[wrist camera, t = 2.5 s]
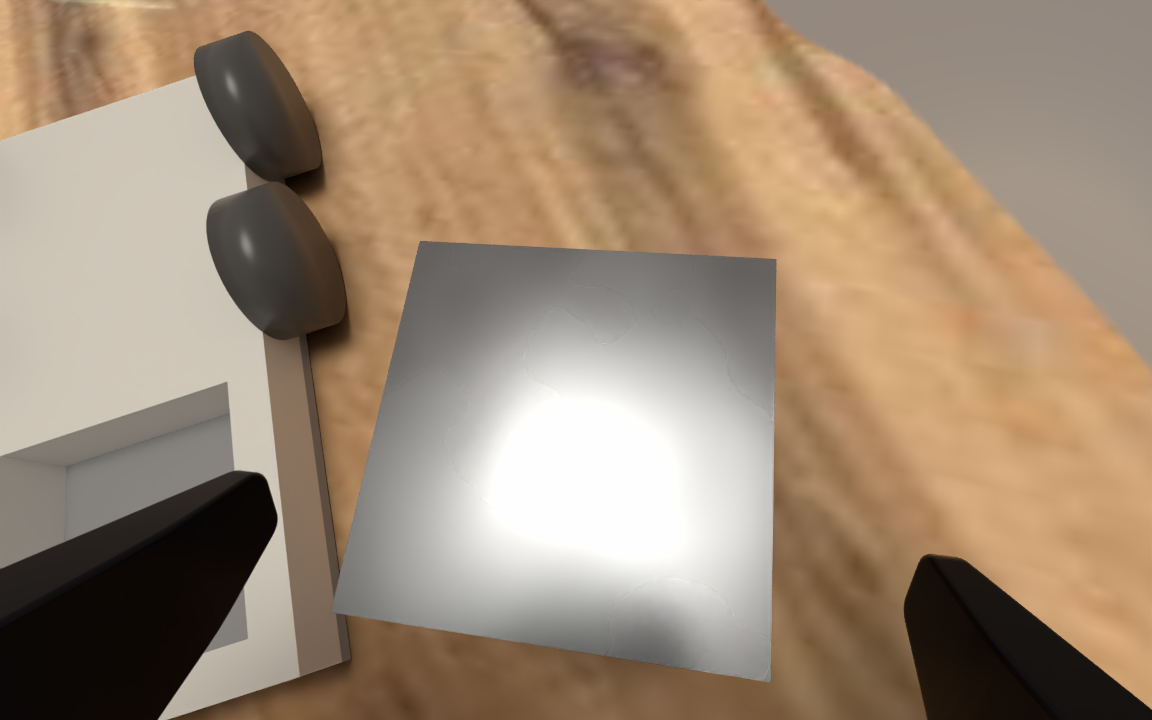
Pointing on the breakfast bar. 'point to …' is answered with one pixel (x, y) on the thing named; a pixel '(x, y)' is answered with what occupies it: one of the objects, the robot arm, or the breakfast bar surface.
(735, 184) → the breakfast bar surface
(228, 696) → the chassis
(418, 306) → the block
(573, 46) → the breakfast bar surface
